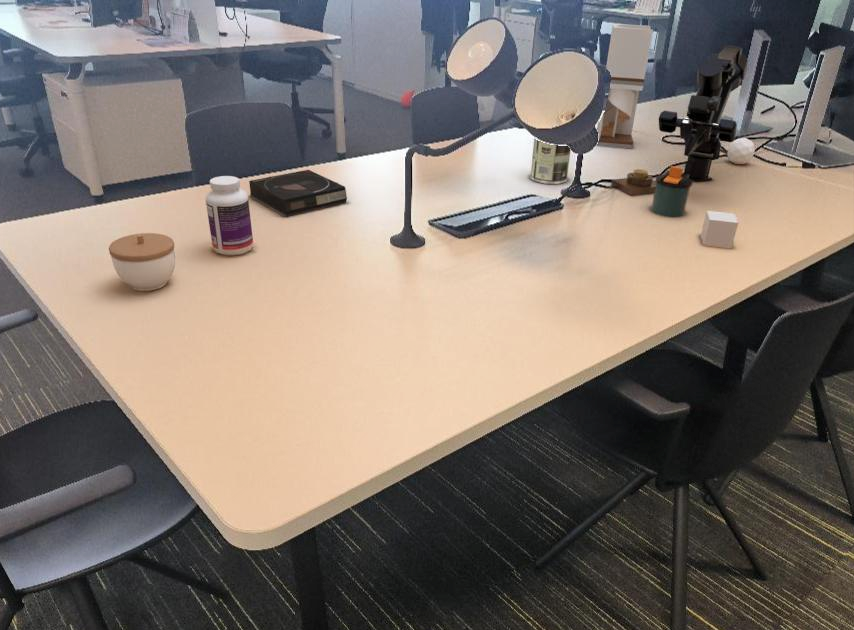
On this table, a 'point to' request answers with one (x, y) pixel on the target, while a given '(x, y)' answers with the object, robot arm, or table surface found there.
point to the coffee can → (549, 163)
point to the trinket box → (144, 260)
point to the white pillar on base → (624, 83)
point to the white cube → (719, 229)
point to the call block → (635, 185)
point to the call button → (640, 173)
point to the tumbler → (671, 196)
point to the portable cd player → (297, 192)
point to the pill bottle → (229, 216)
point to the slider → (674, 175)
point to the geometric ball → (741, 151)
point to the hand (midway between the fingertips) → (686, 155)
